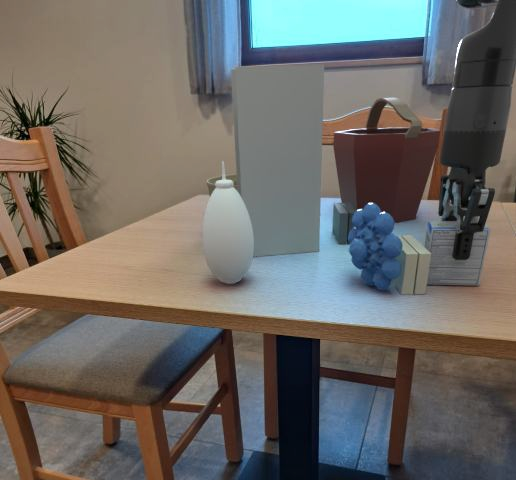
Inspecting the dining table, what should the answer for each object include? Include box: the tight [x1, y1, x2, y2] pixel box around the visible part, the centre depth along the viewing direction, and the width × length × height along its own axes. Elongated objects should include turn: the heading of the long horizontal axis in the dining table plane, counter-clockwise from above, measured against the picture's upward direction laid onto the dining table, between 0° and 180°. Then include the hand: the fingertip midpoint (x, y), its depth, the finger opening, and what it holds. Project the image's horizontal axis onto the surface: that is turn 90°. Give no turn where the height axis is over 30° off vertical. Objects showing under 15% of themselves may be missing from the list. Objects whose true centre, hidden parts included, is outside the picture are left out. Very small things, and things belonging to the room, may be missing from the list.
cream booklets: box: [392, 234, 431, 296], centre depth 69 cm, size 3×10×6 cm, turn 179°
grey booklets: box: [332, 202, 356, 245], centre depth 93 cm, size 3×10×6 cm, turn 179°
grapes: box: [348, 203, 403, 291], centre depth 67 cm, size 12×7×12 cm, turn 23°
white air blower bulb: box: [201, 160, 254, 285], centre depth 69 cm, size 8×8×18 cm
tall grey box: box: [230, 64, 325, 258], centre depth 81 cm, size 14×6×30 cm, turn 100°
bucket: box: [332, 97, 441, 224], centre depth 105 cm, size 24×22×25 cm
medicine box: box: [424, 220, 491, 287], centre depth 68 cm, size 8×4×9 cm, turn 80°
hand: (453, 253), depth 68 cm, fingers closed on medicine box, 4 cm apart
